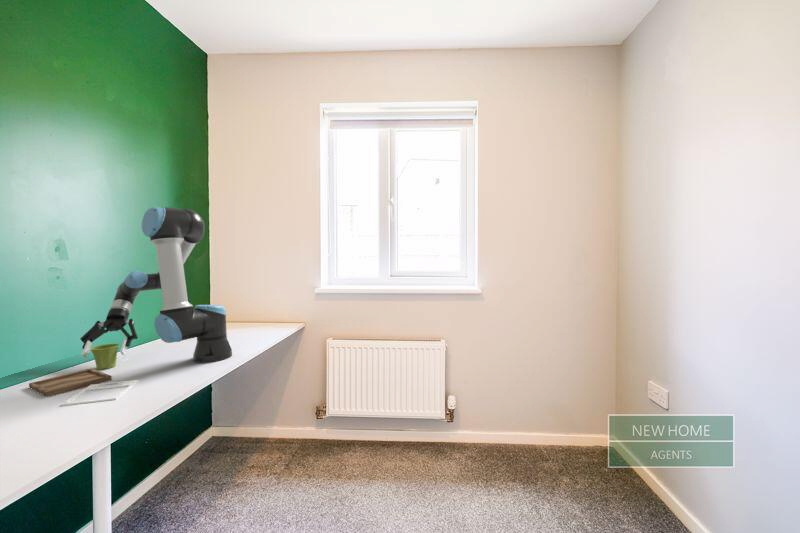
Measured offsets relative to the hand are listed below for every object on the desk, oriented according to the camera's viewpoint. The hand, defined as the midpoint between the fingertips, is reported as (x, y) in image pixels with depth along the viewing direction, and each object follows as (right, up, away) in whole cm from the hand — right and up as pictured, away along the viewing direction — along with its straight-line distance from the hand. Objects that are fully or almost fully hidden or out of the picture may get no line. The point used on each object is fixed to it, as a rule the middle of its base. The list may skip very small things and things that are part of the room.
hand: (103, 354), depth 154 cm
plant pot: (0, -6, +1) cm, 6 cm away
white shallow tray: (+21, -7, -27) cm, 35 cm away
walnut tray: (+3, -6, -18) cm, 19 cm away
